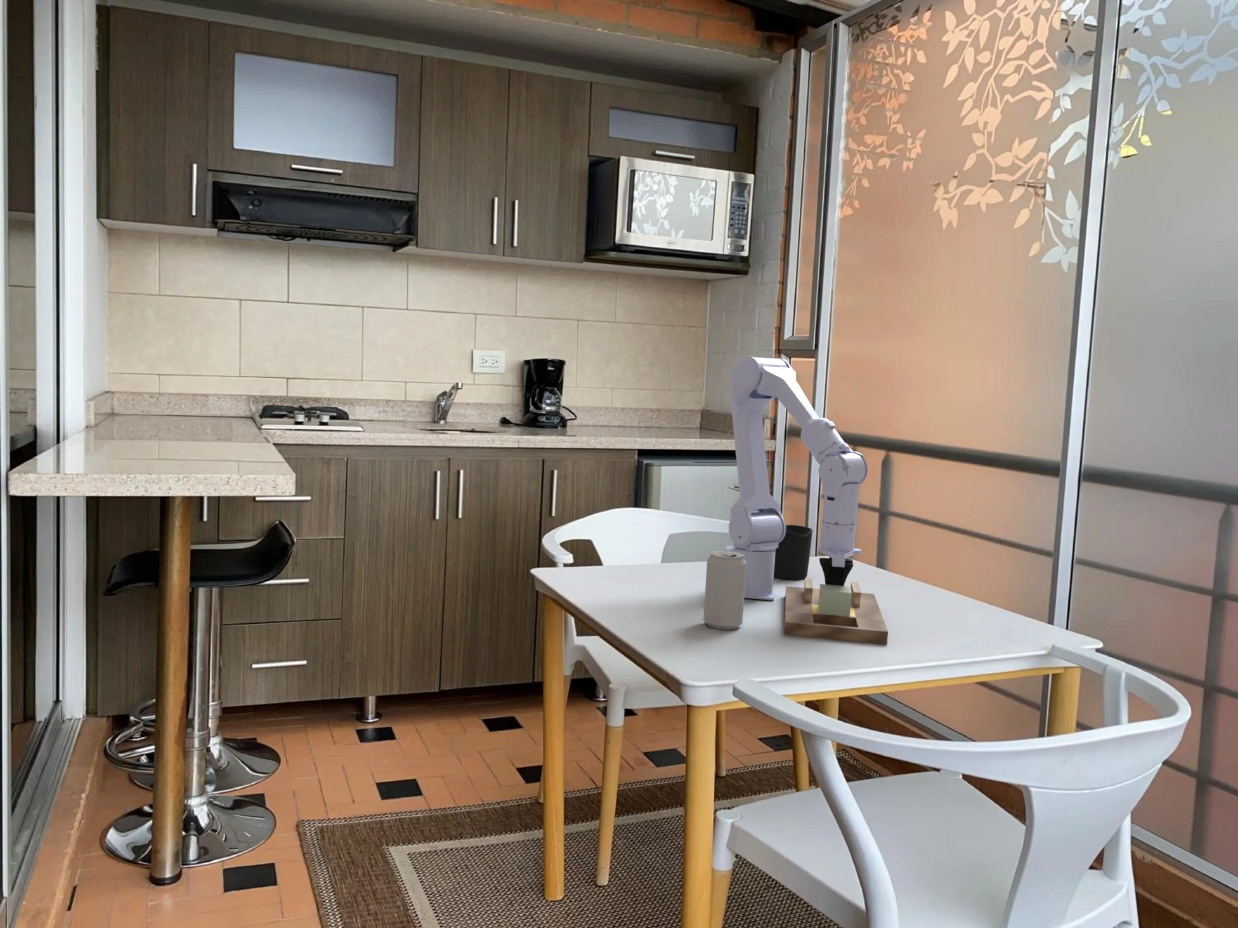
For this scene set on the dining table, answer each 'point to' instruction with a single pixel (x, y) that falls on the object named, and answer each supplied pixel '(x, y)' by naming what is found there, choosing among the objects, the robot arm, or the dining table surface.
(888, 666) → the dining table surface
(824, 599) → the block
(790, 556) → the pen holder
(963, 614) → the dining table surface
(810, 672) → the dining table surface
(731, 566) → the beverage can
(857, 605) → the deck
